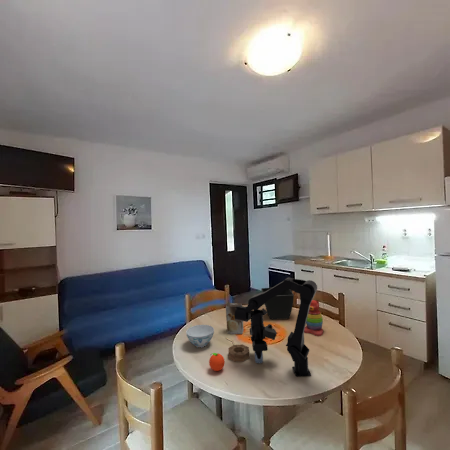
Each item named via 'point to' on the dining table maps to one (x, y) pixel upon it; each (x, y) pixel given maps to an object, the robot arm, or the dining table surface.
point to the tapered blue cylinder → (259, 359)
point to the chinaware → (200, 334)
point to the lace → (230, 340)
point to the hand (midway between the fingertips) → (258, 356)
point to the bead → (238, 353)
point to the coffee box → (233, 319)
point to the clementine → (216, 362)
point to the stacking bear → (314, 320)
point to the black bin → (279, 305)
